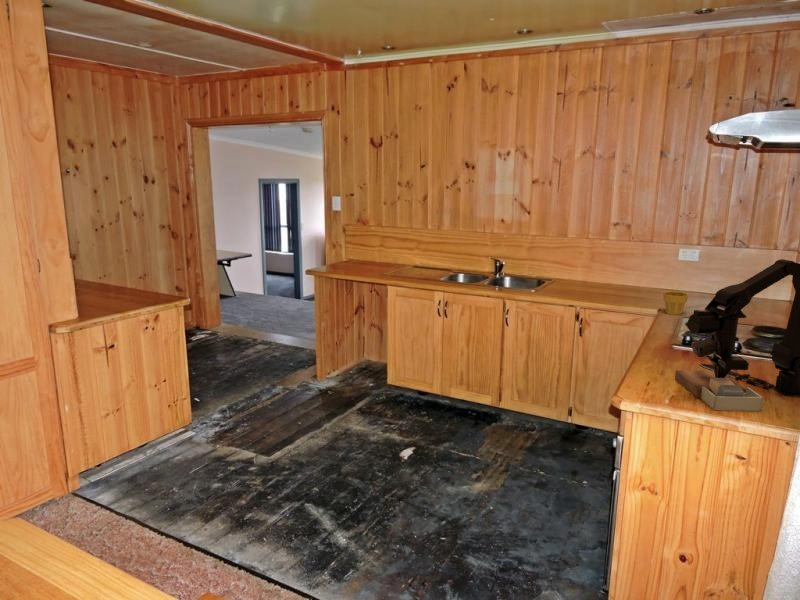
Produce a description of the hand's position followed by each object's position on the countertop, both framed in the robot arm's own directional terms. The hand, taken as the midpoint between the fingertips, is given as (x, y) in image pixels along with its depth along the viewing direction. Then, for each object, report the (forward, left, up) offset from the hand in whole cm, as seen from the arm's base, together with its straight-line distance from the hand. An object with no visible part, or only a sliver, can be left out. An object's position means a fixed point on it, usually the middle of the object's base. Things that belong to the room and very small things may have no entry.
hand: (718, 381), depth 165 cm
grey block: (0, +6, -1) cm, 6 cm away
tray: (-1, +7, -4) cm, 8 cm away
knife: (-13, -18, -5) cm, 23 cm away
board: (0, -6, -4) cm, 7 cm away
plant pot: (-27, -102, -5) cm, 106 cm away
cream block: (+1, +4, -2) cm, 4 cm away
